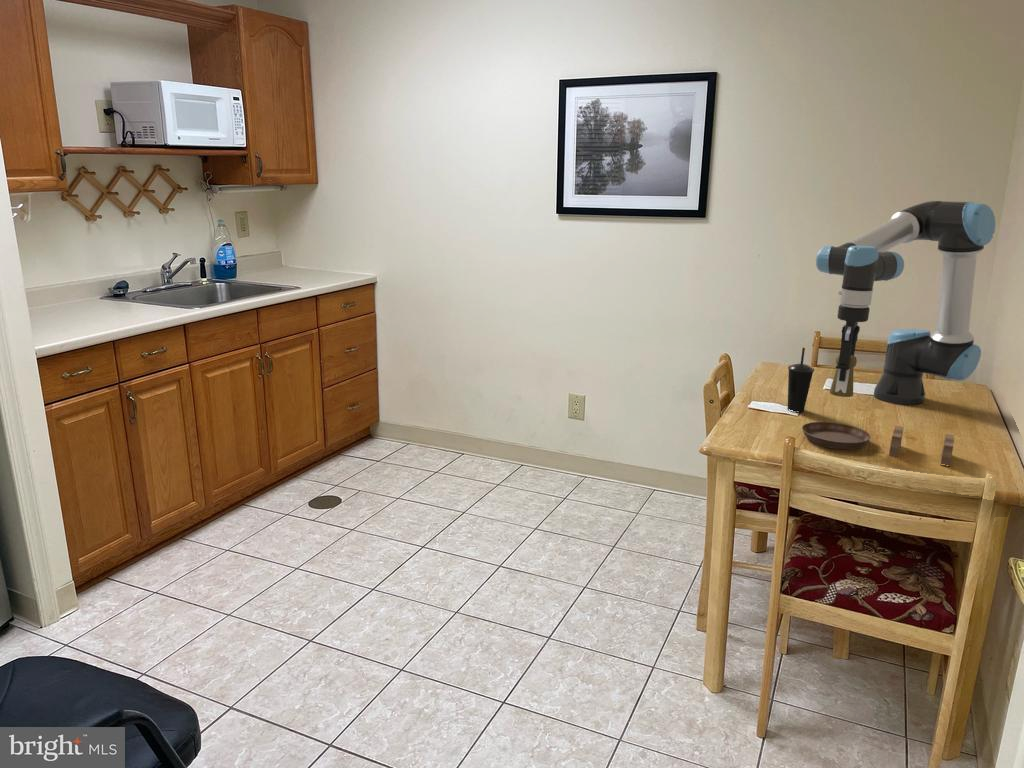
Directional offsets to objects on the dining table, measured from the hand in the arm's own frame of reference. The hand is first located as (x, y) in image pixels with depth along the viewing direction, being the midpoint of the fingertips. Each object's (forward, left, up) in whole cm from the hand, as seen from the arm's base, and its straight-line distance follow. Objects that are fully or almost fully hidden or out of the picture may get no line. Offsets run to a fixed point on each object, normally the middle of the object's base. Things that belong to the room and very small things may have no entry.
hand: (841, 389), depth 204 cm
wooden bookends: (-18, +11, -15) cm, 26 cm away
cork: (0, 0, -1) cm, 1 cm away
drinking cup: (0, -27, -15) cm, 31 cm away
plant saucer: (0, 0, -15) cm, 15 cm away
